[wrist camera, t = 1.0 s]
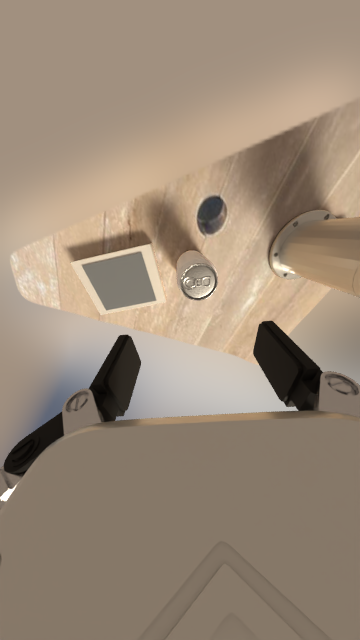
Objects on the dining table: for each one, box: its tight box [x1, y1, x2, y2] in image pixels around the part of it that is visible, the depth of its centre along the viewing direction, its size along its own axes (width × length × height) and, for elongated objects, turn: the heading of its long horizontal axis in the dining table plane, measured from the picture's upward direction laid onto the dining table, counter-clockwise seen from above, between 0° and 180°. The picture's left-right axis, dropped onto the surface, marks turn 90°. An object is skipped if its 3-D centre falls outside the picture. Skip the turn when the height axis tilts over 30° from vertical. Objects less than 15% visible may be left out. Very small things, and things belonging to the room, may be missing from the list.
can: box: [177, 250, 218, 301], centre depth 26 cm, size 6×6×12 cm
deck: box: [70, 243, 167, 315], centre depth 31 cm, size 16×12×3 cm
